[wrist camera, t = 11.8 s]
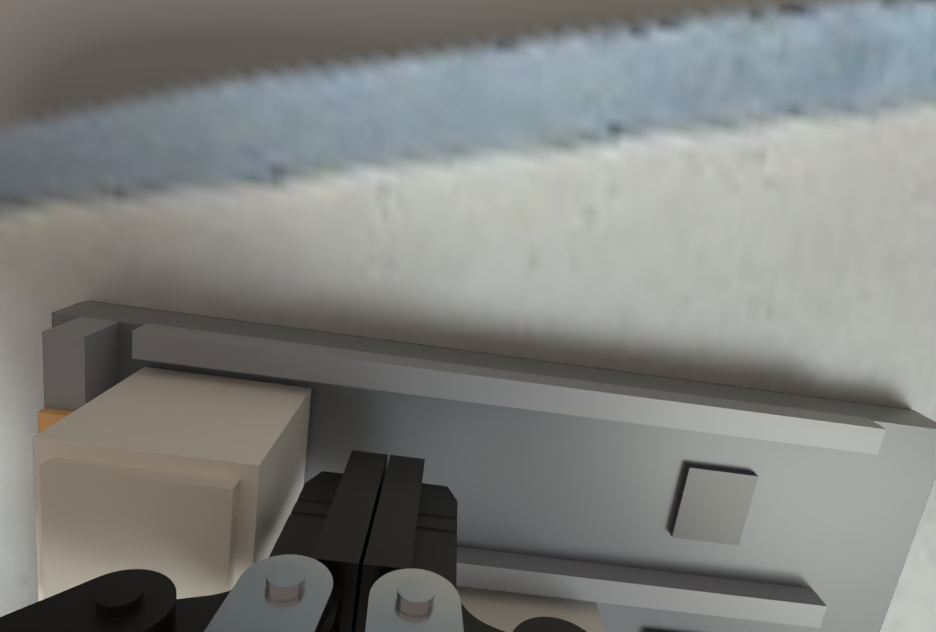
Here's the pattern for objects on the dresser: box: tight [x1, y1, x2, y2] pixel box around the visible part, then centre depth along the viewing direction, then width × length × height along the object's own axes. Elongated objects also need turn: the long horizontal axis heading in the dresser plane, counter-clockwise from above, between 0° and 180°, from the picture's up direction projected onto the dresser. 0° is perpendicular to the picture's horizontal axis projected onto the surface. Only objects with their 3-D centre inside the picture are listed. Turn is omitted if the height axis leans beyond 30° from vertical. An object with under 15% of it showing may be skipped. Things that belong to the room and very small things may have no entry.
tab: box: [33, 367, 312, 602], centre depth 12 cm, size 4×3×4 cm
